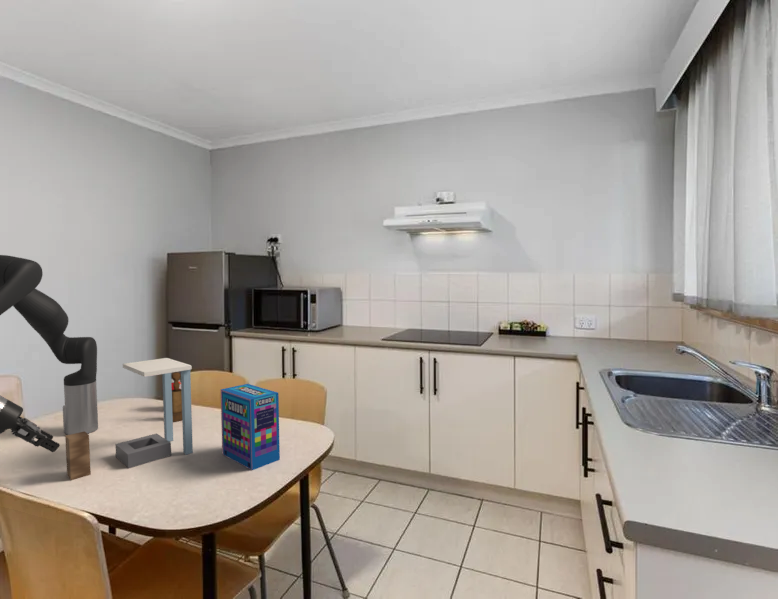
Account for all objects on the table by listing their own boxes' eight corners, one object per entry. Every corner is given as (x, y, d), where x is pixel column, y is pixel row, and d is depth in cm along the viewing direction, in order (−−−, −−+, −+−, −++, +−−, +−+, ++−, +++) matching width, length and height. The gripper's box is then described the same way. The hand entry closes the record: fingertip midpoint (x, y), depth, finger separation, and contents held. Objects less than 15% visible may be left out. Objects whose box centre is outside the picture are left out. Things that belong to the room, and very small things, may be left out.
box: (222, 454, 129) (220, 389, 128) (249, 445, 136) (247, 383, 135) (252, 470, 118) (250, 399, 117) (279, 459, 125) (278, 392, 124)
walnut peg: (70, 480, 113) (69, 439, 112) (67, 475, 116) (65, 435, 115) (90, 474, 116) (88, 435, 116) (86, 469, 119) (84, 431, 119)
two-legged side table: (147, 467, 120) (144, 372, 119) (125, 449, 133) (122, 363, 132) (194, 453, 130) (191, 365, 128) (169, 438, 143) (167, 357, 141)
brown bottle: (181, 421, 159) (179, 374, 158) (164, 421, 159) (162, 374, 158) (189, 416, 166) (188, 370, 165) (173, 416, 166) (171, 370, 165)
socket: (128, 468, 120) (127, 454, 120) (115, 457, 128) (115, 443, 127) (171, 455, 128) (170, 442, 128) (157, 445, 136) (156, 433, 136)
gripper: (9, 404, 100) (71, 438, 109) (2, 393, 109) (59, 425, 119) (-21, 432, 96) (46, 465, 105) (-26, 418, 106) (36, 449, 115)
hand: (53, 444), depth 112 cm, fingers open, 8 cm apart
